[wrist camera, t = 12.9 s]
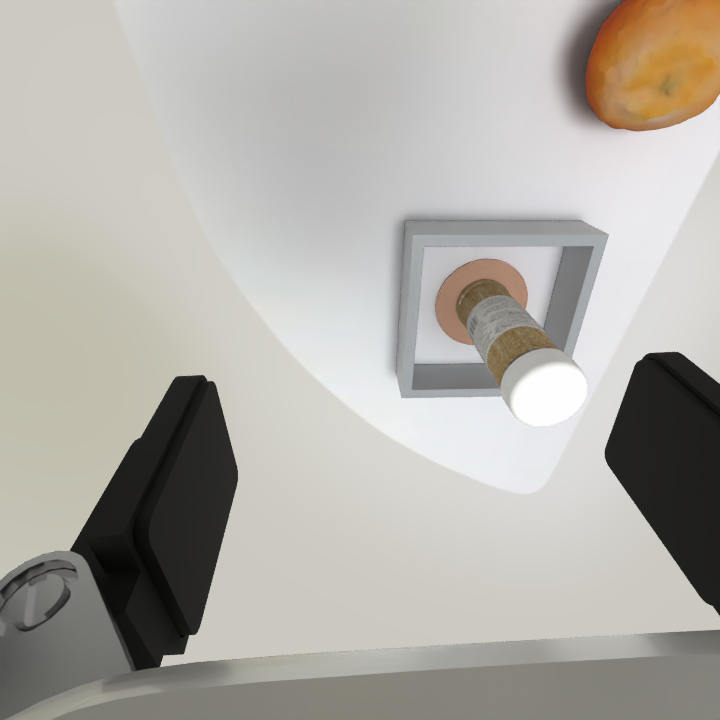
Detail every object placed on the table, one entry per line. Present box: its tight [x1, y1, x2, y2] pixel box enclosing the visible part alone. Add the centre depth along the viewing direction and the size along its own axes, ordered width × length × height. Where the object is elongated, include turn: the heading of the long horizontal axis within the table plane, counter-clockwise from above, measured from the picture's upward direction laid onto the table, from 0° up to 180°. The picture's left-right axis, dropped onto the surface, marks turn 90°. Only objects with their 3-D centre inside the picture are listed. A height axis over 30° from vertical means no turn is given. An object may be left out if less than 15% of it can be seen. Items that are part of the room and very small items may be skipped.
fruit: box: [585, 0, 720, 131], centre depth 26 cm, size 8×8×8 cm
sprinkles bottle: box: [457, 280, 588, 426], centre depth 31 cm, size 5×5×14 cm
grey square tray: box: [396, 221, 609, 398], centre depth 35 cm, size 14×14×4 cm
